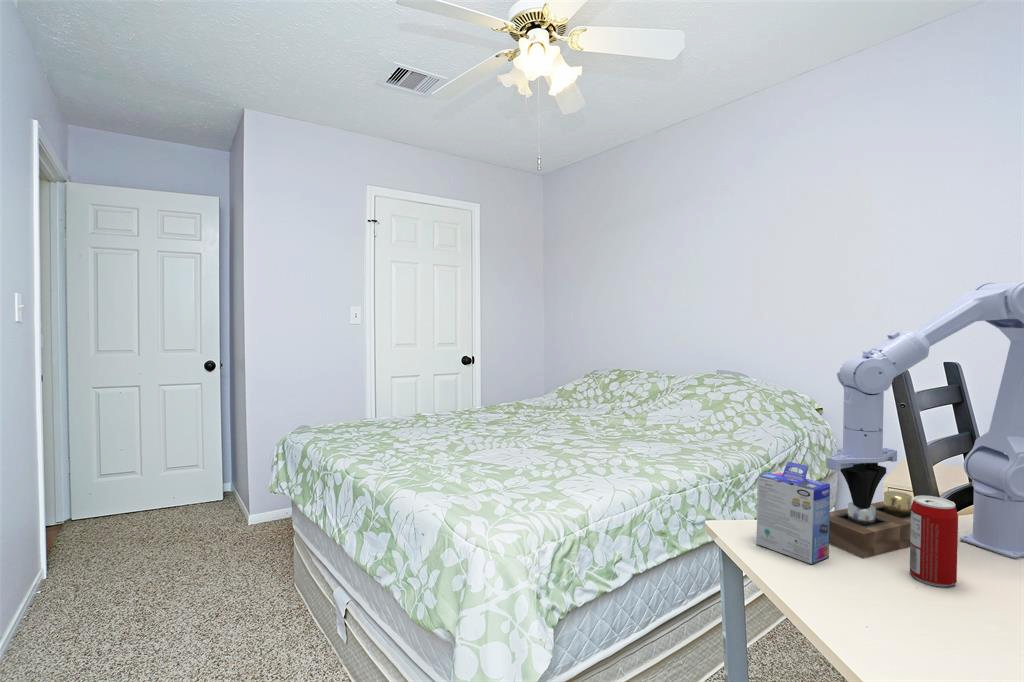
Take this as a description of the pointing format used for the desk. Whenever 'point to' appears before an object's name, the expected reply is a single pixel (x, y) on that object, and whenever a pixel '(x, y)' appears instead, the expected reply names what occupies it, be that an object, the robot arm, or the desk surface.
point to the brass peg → (897, 504)
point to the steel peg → (861, 514)
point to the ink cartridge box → (793, 514)
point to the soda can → (934, 540)
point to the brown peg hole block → (869, 533)
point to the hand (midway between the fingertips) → (861, 506)
